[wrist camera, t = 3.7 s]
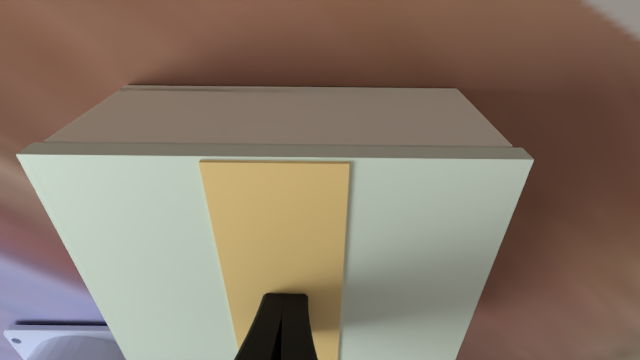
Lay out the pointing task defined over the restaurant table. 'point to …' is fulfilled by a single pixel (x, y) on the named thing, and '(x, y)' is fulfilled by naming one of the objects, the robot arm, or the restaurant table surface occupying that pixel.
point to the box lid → (281, 240)
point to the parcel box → (284, 117)
